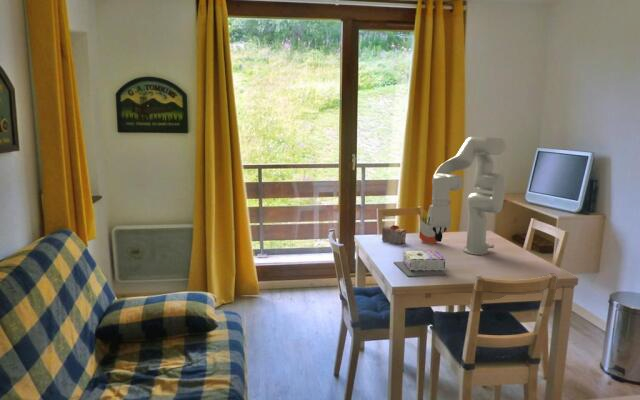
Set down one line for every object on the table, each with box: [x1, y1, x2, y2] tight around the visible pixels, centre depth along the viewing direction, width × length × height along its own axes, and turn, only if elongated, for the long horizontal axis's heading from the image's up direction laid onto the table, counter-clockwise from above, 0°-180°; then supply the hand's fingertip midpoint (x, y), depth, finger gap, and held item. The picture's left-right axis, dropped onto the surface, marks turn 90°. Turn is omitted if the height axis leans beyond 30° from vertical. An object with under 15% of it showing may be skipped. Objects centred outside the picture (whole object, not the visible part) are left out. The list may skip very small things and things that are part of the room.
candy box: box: [402, 250, 446, 272], centre depth 227 cm, size 14×6×16 cm
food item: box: [381, 224, 407, 245], centre depth 271 cm, size 14×8×10 cm, turn 47°
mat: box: [393, 261, 447, 278], centre depth 226 cm, size 18×20×1 cm
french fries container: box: [418, 209, 439, 245], centre depth 270 cm, size 5×11×18 cm, turn 55°
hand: (438, 241), depth 225 cm, fingers closed
